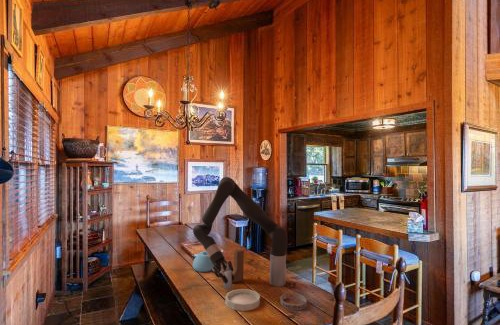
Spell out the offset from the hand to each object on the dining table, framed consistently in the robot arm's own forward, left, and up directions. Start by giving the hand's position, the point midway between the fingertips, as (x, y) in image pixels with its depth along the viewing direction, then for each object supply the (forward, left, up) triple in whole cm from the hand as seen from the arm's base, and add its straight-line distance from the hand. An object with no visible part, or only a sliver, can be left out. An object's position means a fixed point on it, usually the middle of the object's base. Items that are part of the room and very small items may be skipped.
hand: (230, 281), depth 155 cm
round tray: (+3, +12, -6) cm, 14 cm away
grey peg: (0, -2, -4) cm, 5 cm away
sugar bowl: (-15, -38, -7) cm, 41 cm away
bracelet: (-13, +32, -7) cm, 35 cm away
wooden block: (-14, -9, -7) cm, 18 cm away
